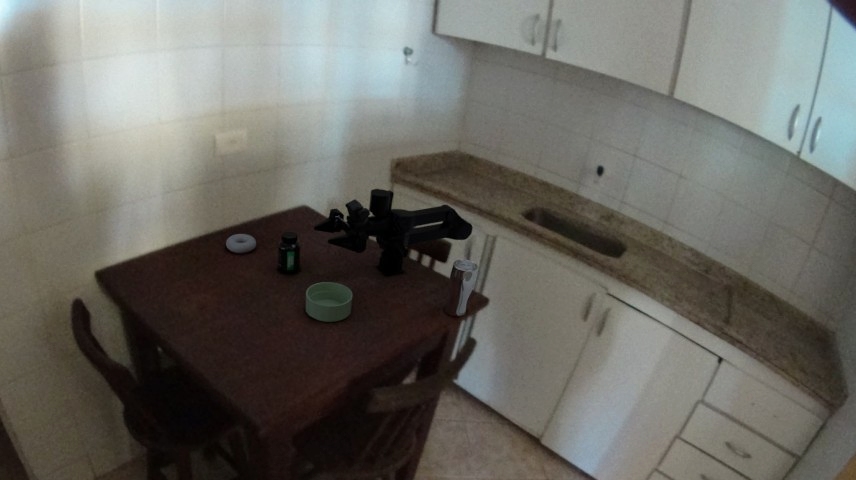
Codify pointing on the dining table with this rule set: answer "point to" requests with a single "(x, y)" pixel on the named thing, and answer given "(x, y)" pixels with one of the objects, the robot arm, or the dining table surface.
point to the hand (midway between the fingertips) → (321, 234)
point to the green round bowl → (328, 301)
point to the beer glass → (460, 287)
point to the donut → (241, 243)
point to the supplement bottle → (289, 253)
